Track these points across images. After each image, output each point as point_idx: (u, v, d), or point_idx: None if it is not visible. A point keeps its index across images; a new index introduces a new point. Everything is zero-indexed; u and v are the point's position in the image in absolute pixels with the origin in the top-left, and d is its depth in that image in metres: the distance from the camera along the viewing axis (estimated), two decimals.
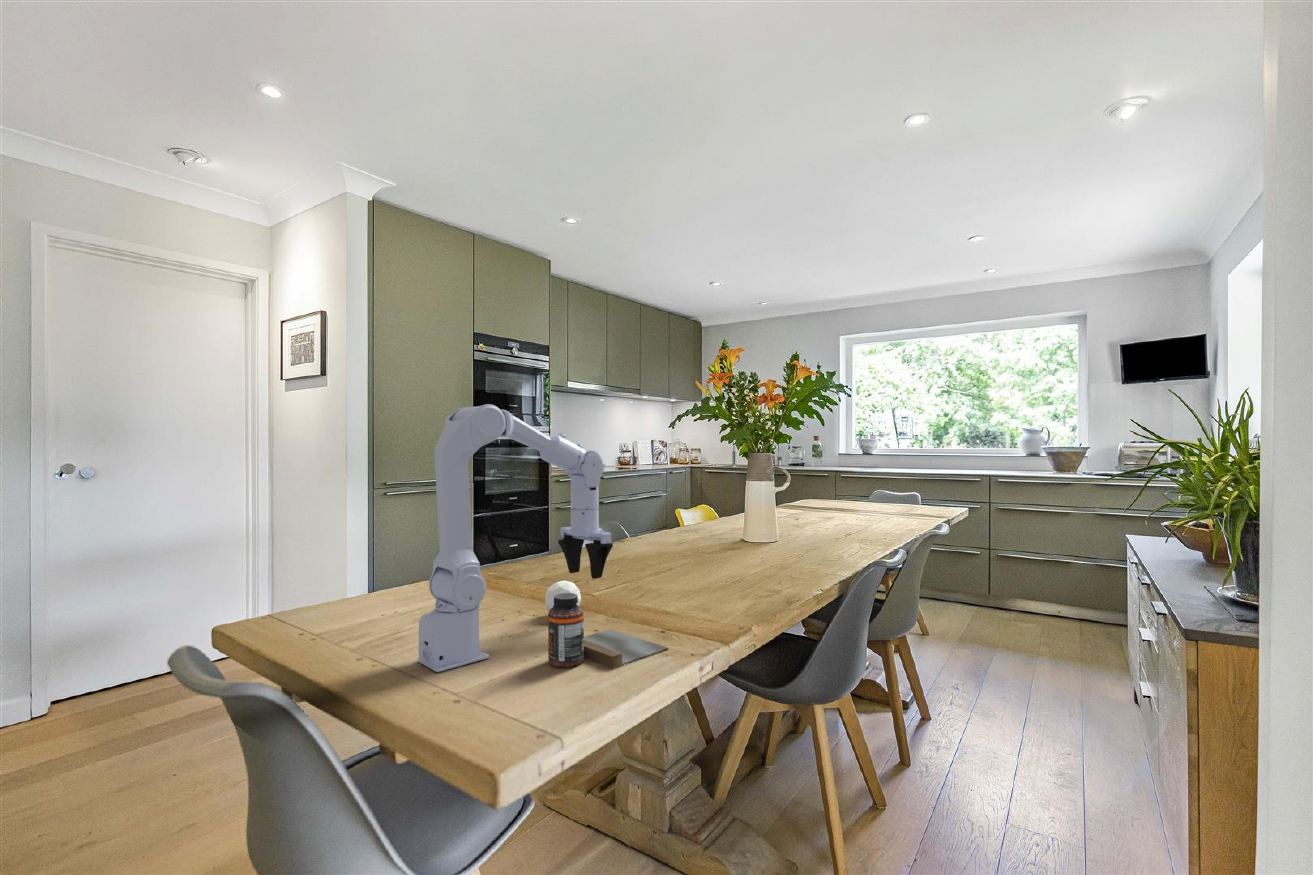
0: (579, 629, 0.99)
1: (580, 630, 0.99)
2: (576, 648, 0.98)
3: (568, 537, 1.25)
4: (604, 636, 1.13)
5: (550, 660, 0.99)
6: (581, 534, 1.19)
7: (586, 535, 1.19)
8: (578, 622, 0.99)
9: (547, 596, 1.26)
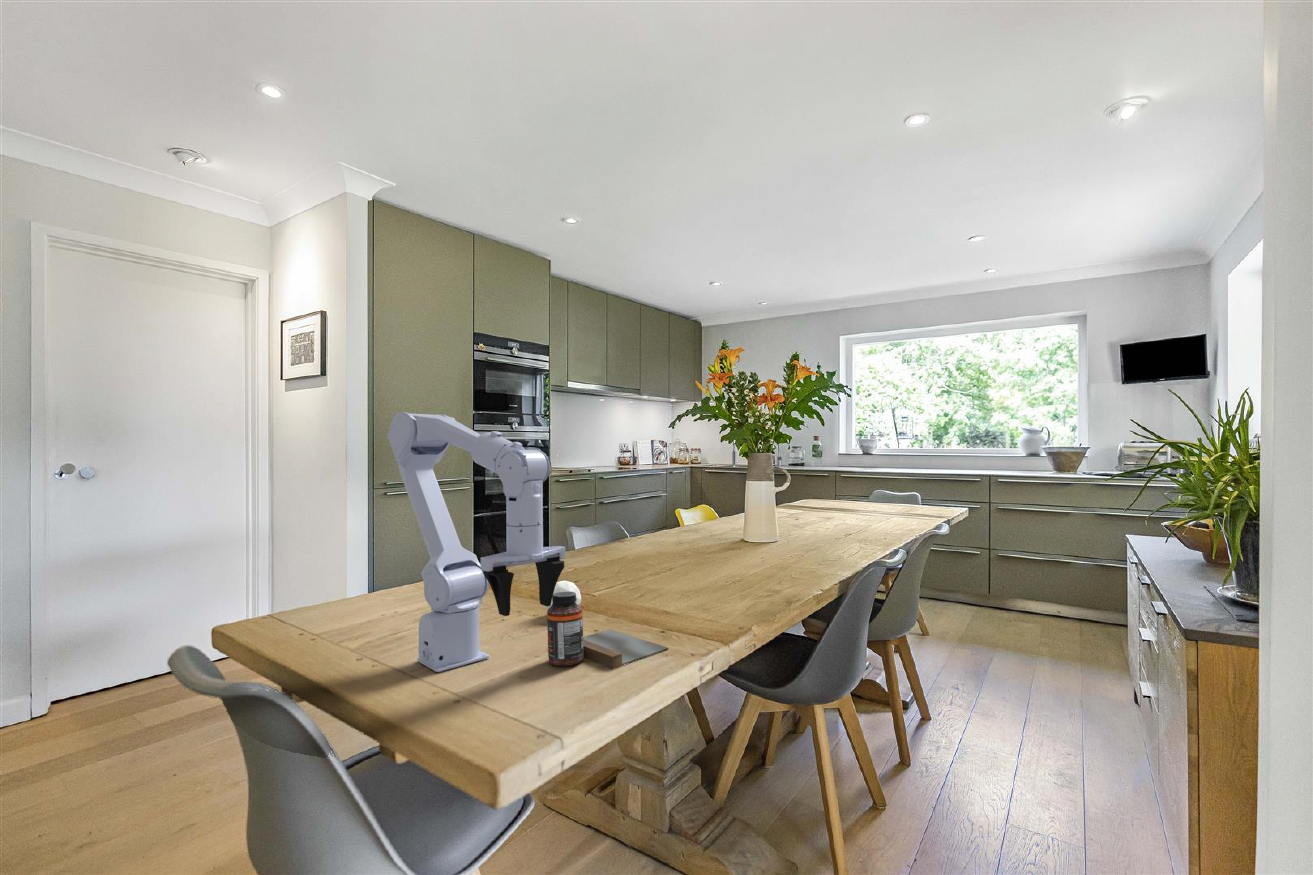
0: (578, 626, 0.99)
1: (579, 627, 0.99)
2: (575, 645, 0.98)
3: None
4: (604, 636, 1.13)
5: (550, 659, 0.99)
6: None
7: None
8: (577, 619, 0.99)
9: None
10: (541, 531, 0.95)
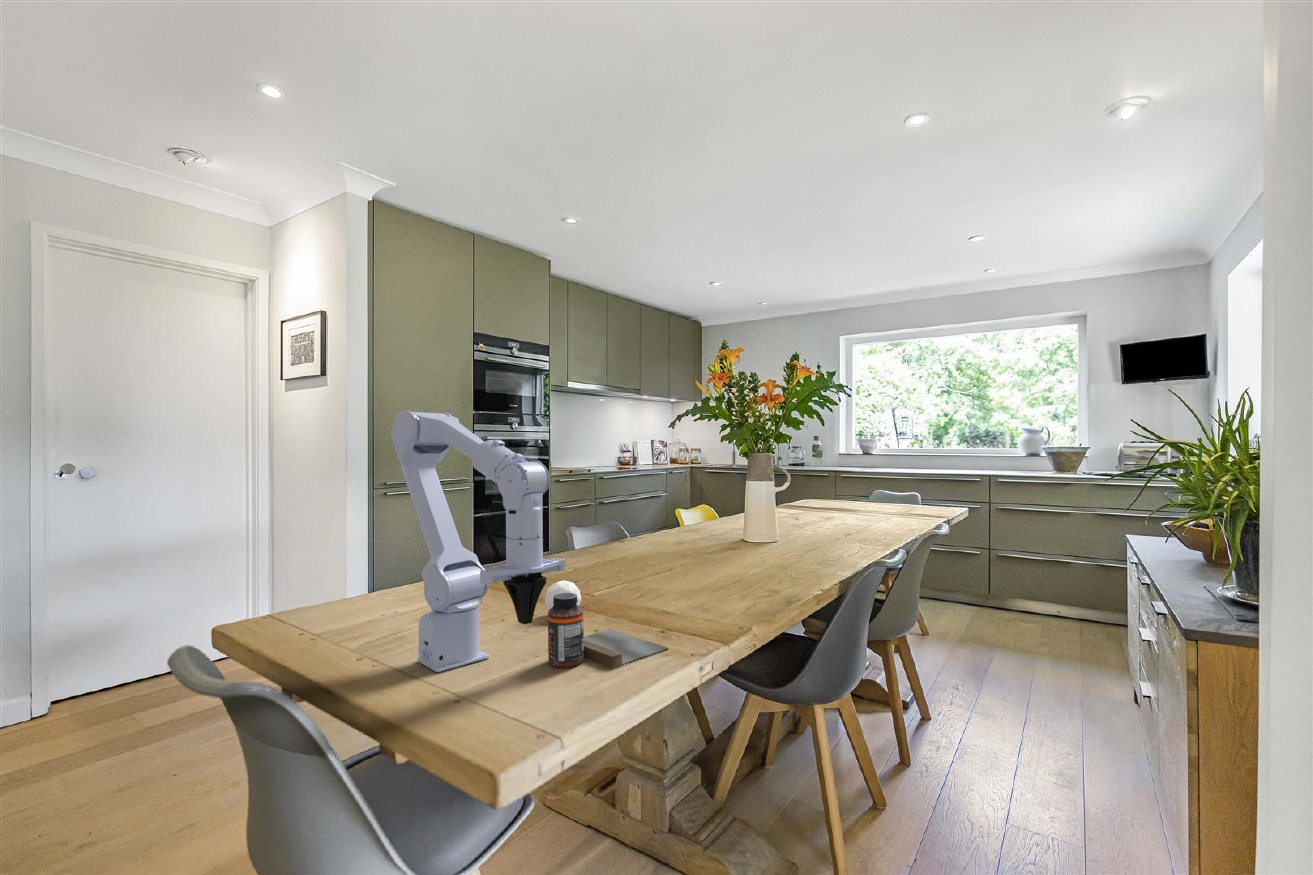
0: (579, 628, 0.99)
1: (580, 629, 0.99)
2: (576, 648, 0.98)
3: None
4: (604, 636, 1.13)
5: (550, 660, 0.99)
6: None
7: None
8: (578, 621, 0.99)
9: (547, 596, 1.26)
10: (541, 544, 0.95)
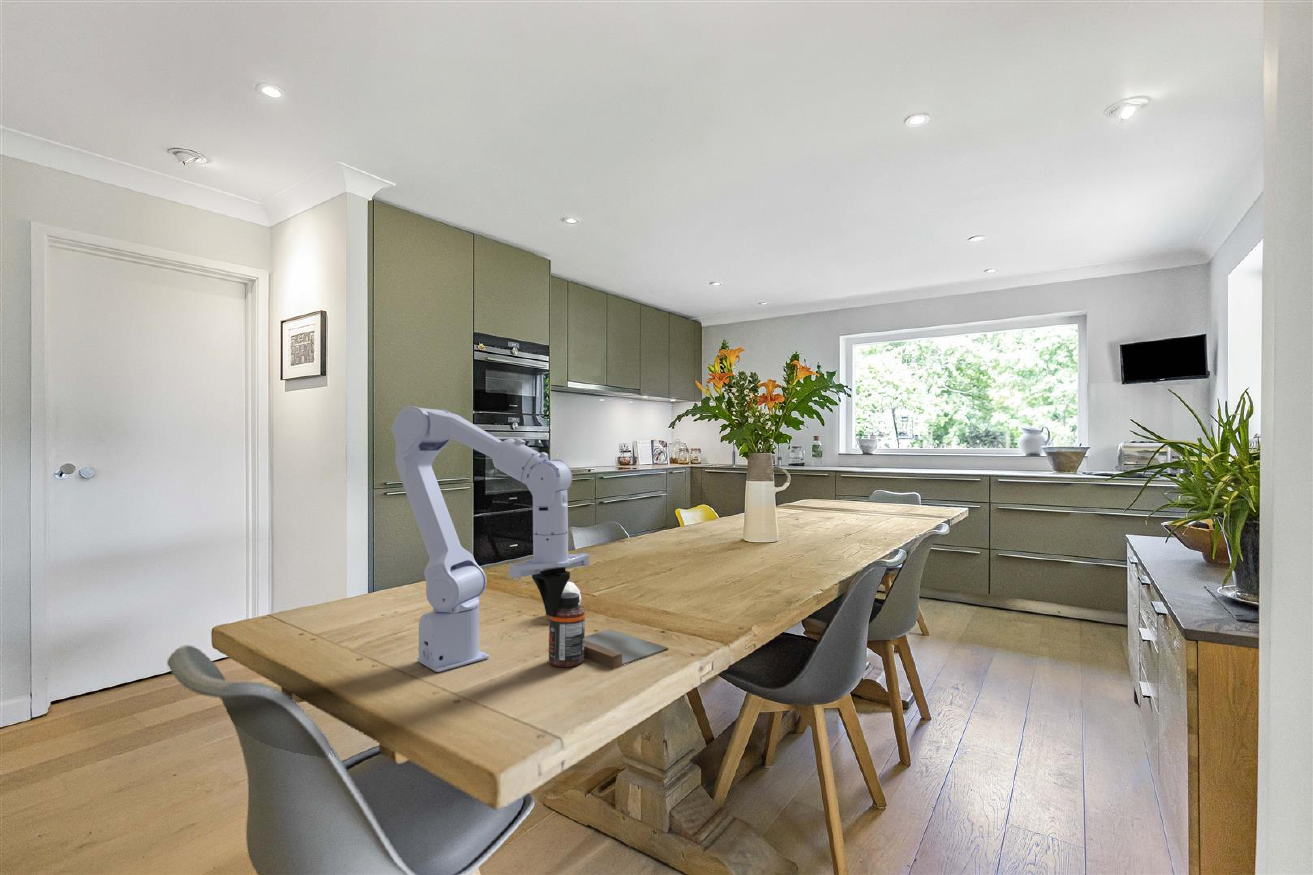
0: (580, 628, 0.99)
1: (581, 629, 0.99)
2: (576, 647, 0.98)
3: None
4: (604, 636, 1.13)
5: (550, 659, 0.99)
6: None
7: None
8: (580, 621, 0.99)
9: None
10: (566, 539, 0.98)
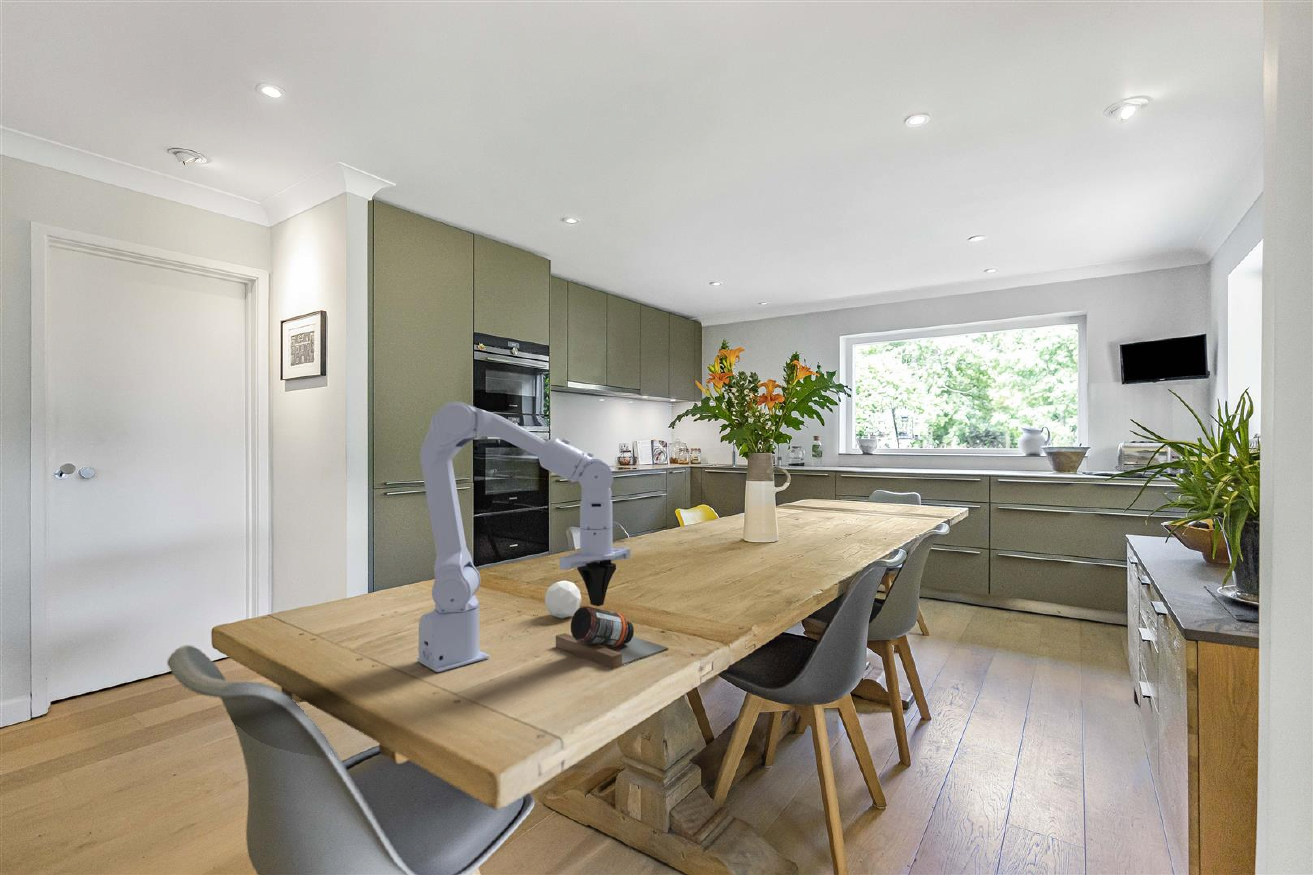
0: (614, 637, 1.04)
1: (612, 638, 1.04)
2: (603, 630, 1.02)
3: None
4: None
5: None
6: None
7: None
8: (619, 637, 1.05)
9: (547, 596, 1.26)
10: (611, 534, 1.05)
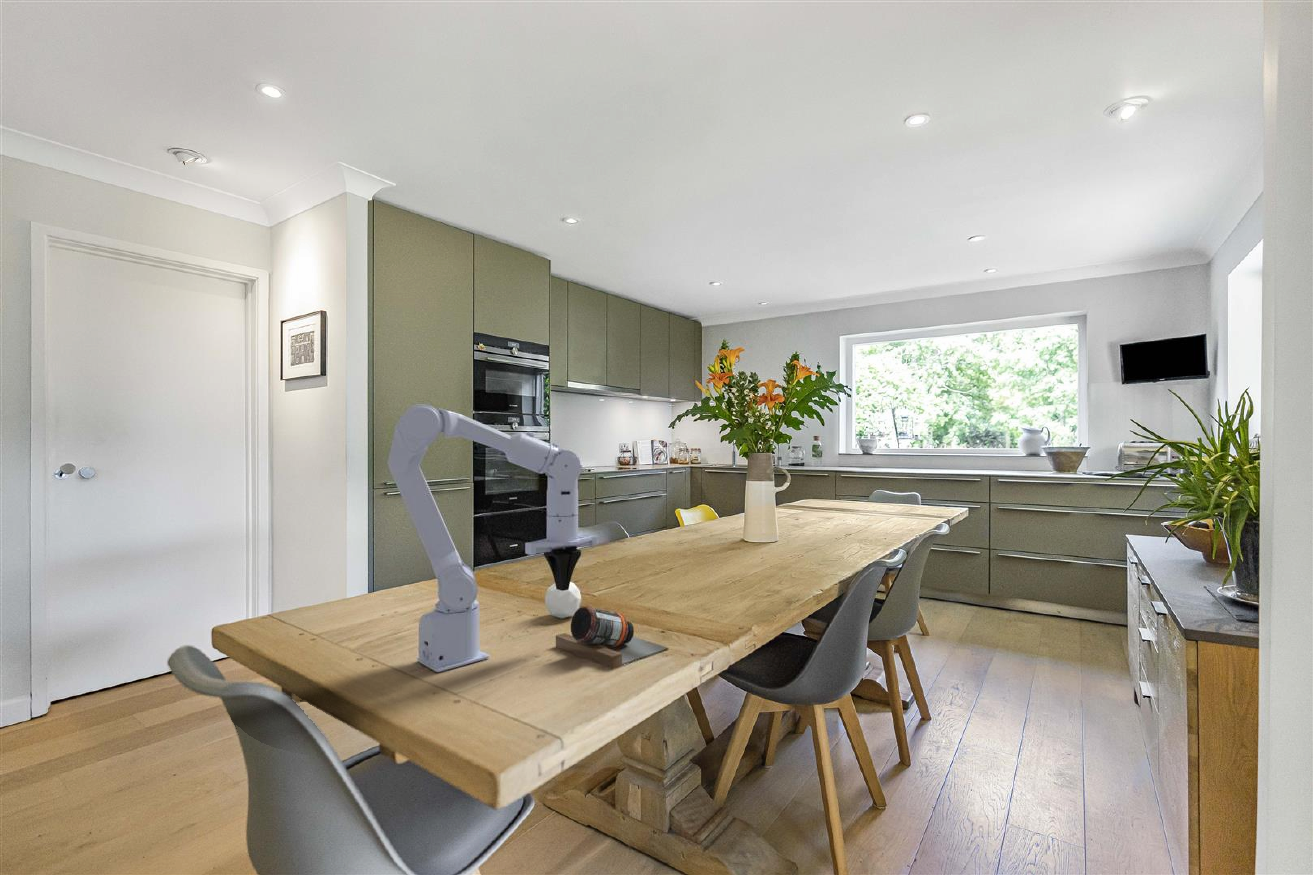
0: (614, 637, 1.04)
1: (612, 638, 1.04)
2: (603, 630, 1.02)
3: None
4: None
5: None
6: None
7: None
8: (619, 637, 1.05)
9: (547, 596, 1.26)
10: (577, 521, 1.09)
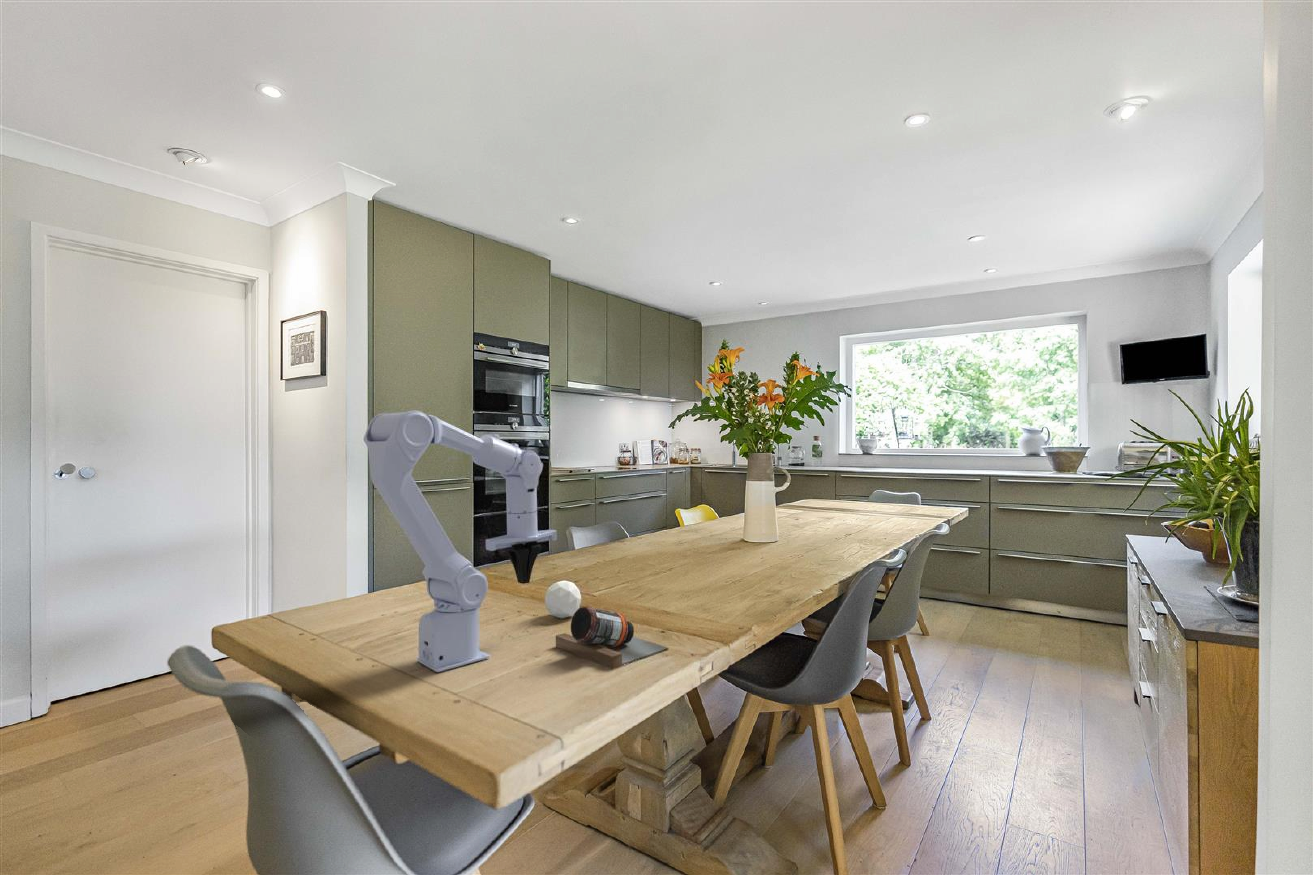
0: (614, 637, 1.04)
1: (612, 638, 1.04)
2: (603, 630, 1.02)
3: None
4: None
5: None
6: None
7: None
8: (619, 637, 1.05)
9: (547, 596, 1.26)
10: (535, 517, 1.14)
